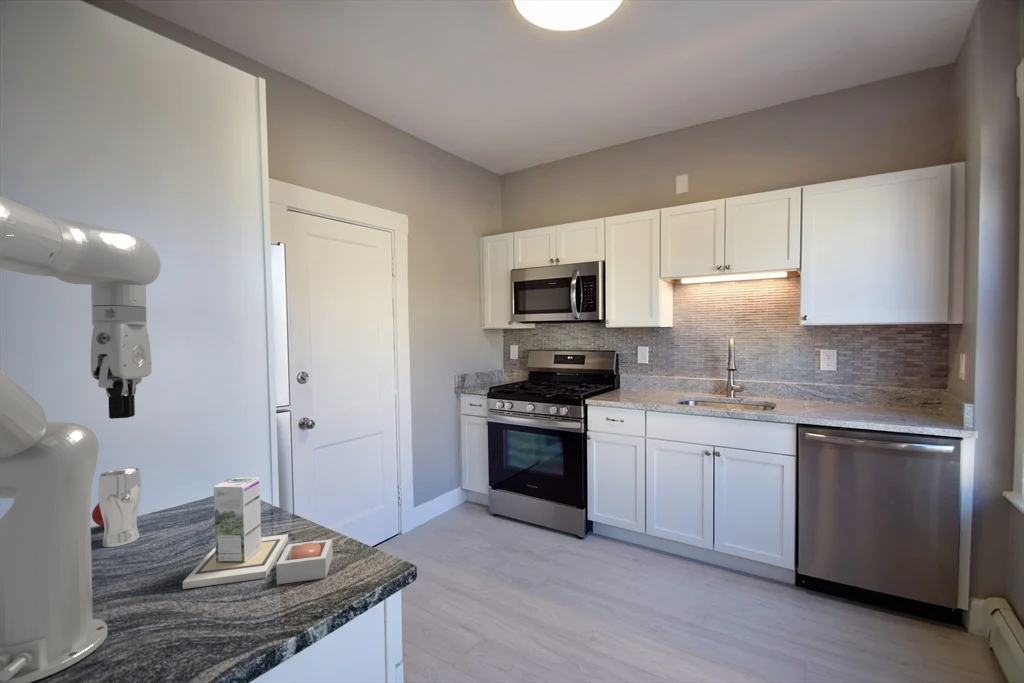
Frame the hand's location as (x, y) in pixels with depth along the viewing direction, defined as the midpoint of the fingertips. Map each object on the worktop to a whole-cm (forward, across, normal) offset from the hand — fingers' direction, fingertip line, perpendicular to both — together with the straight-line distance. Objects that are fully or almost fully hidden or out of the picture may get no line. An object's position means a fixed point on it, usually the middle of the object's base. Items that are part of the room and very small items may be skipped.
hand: (122, 417), depth 82 cm
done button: (+28, -7, -32) cm, 43 cm away
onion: (+29, +27, +17) cm, 43 cm away
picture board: (+29, 0, -19) cm, 35 cm away
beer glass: (+29, +18, +10) cm, 36 cm away
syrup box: (+28, 0, -19) cm, 34 cm away
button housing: (+29, -7, -32) cm, 44 cm away
